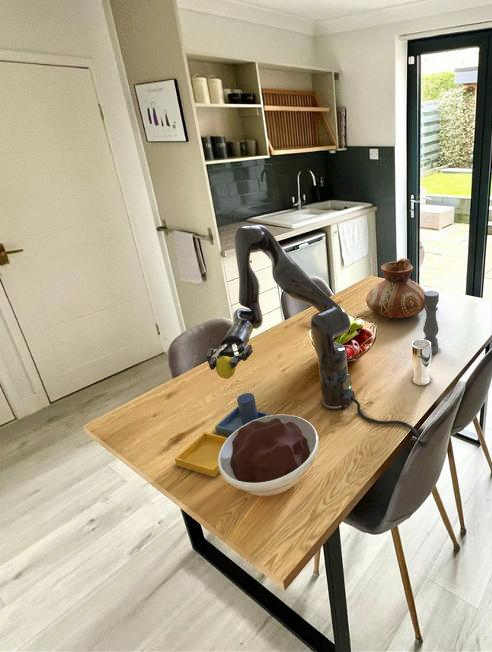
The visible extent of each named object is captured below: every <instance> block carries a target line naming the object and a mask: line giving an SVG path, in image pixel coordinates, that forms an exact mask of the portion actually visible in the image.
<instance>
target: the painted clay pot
mask: <svg viewBox="0 0 492 652" xmlns="http://www.w3.org/2000/svg"><path fill="white" fill-rule="evenodd" d="M380 271H381V273H382V274H383V276H384V280H381V281H380V282H378V283H377V284H375V285H374V286H372V288H370V289H369V291H368V293H367V294H366V295H367V296H366V299H365V302H366V305H367V306H366V307H368V309H369V310H370V311H372V312H373V313H375V314H376V315H379V316H381V317H385V318H388V319H395V320H400V319H401V320H402V319H408V318H411V317H413V316H416V315H418V314H420V313H421V312H423V310H425V306H426V304H425V302H424V292H426V291H425V290H424V289H423V287H422V286H421V285H420V284H419V283H417V282H415V281H414V280H412V279H411V278H410V276H411V274H412V273H413V271H414V267H413V265H412V264H411V261H410V259H409V258H403V257H401V258H400V259H398V260H395V261H388V262H385V263H383V264H381V266H380Z"/></svg>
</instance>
